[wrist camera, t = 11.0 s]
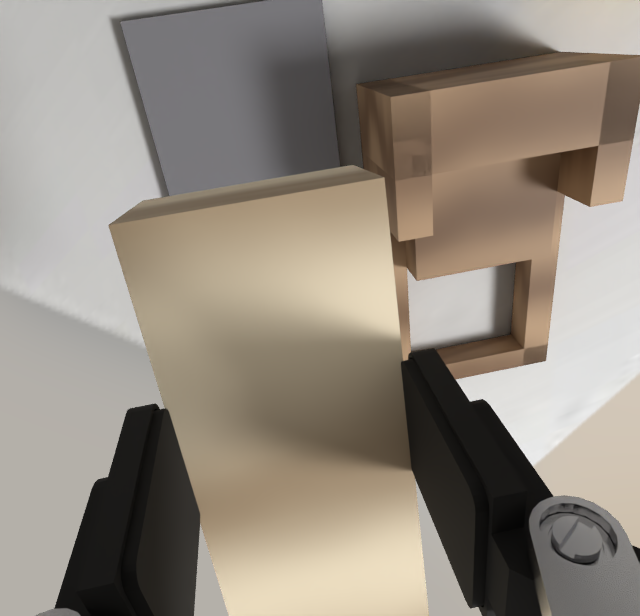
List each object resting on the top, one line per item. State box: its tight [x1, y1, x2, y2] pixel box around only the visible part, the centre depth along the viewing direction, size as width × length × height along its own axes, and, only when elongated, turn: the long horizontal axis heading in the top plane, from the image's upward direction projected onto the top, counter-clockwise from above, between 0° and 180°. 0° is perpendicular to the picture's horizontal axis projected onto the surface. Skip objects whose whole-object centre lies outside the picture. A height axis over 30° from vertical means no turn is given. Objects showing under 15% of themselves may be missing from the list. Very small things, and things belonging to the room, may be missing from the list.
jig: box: [356, 52, 640, 379], centre depth 30 cm, size 20×12×7 cm, turn 8°
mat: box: [120, 0, 340, 196], centre depth 29 cm, size 15×10×1 cm, turn 8°
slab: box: [109, 165, 429, 616], centre depth 13 cm, size 12×5×3 cm, turn 8°
